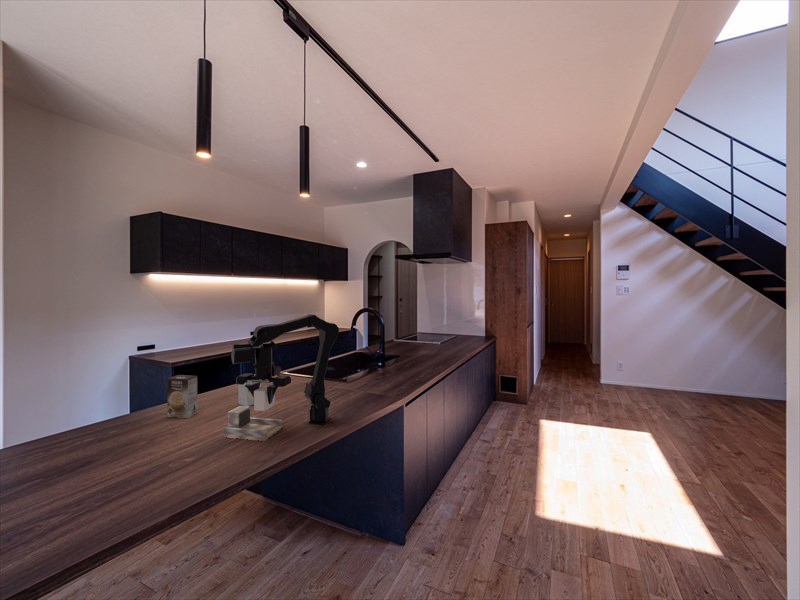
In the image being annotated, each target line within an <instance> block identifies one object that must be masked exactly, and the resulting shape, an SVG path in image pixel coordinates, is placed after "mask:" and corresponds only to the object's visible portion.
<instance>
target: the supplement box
mask: <svg viewBox="0 0 800 600" xmlns="http://www.w3.org/2000/svg"><path fill="white" fill-rule="evenodd" d="M253 374H254V375H255V373H253ZM259 380H261V379H259ZM245 385H246V383H245V384H243V385H241V384H237V387H238V389H237V393H238V394H237V397H238V399H237V400H238V401H237V402H238V405H240V406H250V407H251V406H254V398H253V396H252V394H251V393H250V391H249V390H248V388H247V387H245ZM261 387H262V382H261V383H260V386H259V388H261Z"/></svg>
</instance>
